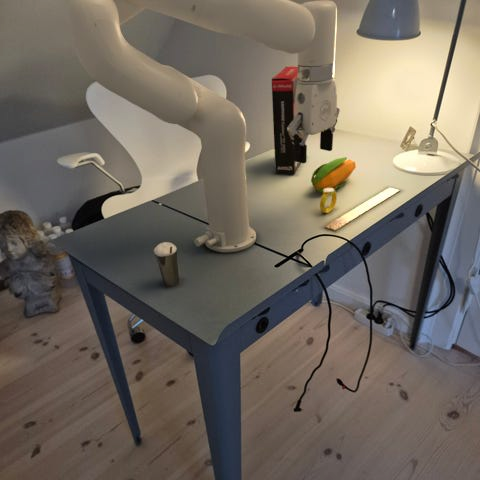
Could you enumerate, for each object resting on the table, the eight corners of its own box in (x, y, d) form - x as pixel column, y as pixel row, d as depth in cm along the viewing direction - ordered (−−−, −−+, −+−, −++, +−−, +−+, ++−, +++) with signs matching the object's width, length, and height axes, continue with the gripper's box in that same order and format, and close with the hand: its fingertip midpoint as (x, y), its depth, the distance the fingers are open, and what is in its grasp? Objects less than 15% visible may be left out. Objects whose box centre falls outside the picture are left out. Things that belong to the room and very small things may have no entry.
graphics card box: (294, 175, 139) (295, 77, 122) (273, 174, 141) (270, 78, 124) (305, 157, 152) (307, 65, 135) (285, 156, 154) (285, 66, 137)
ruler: (335, 231, 109) (335, 230, 109) (324, 227, 111) (324, 226, 111) (399, 191, 125) (399, 190, 125) (389, 188, 127) (389, 187, 127)
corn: (305, 167, 123) (344, 146, 134) (302, 193, 128) (340, 171, 139) (328, 174, 119) (366, 152, 130) (324, 201, 124) (362, 177, 135)
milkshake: (169, 292, 94) (160, 250, 87) (157, 282, 97) (148, 240, 91) (188, 284, 95) (181, 242, 89) (175, 274, 99) (168, 233, 93)
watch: (329, 205, 121) (330, 184, 117) (338, 208, 119) (340, 186, 116) (317, 214, 117) (317, 192, 114) (326, 216, 116) (327, 194, 112)
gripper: (303, 83, 87) (302, 170, 98) (354, 66, 96) (348, 148, 107) (274, 80, 92) (276, 163, 102) (326, 64, 101) (322, 142, 111)
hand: (313, 155), depth 105 cm, fingers open, 9 cm apart
